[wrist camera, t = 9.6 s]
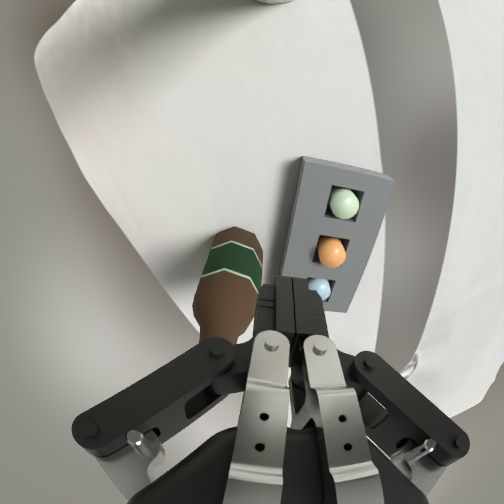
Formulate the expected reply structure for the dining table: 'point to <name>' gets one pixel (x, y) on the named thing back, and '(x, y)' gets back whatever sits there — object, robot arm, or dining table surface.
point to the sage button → (343, 202)
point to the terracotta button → (331, 251)
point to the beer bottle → (229, 285)
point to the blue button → (319, 286)
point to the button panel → (334, 226)
